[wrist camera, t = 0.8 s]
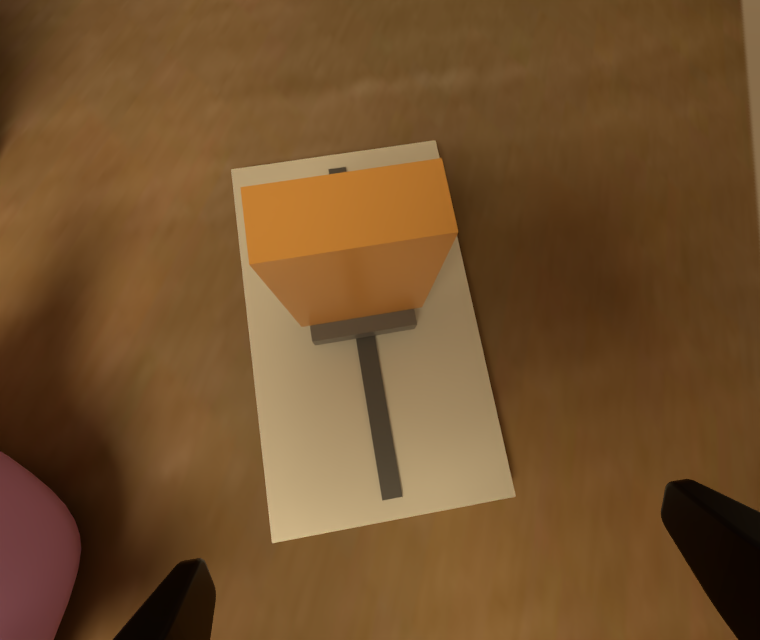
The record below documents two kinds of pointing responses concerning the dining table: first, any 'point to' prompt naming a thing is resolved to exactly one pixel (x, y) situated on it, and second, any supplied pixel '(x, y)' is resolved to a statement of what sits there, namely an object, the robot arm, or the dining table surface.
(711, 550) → the robot arm
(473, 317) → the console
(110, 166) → the dining table surface
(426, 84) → the dining table surface
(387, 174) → the fader
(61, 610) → the teapot
